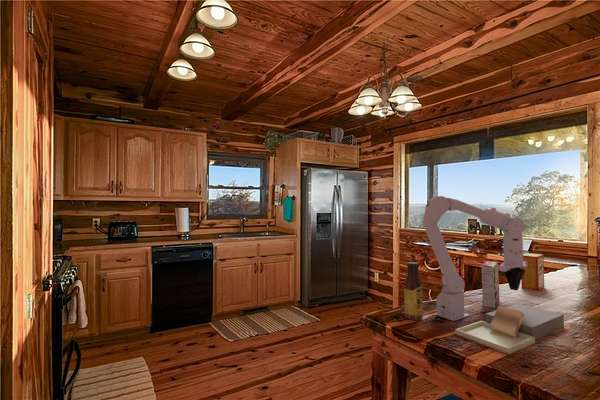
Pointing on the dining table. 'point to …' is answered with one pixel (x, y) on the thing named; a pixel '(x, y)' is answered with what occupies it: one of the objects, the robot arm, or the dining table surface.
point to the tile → (507, 321)
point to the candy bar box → (490, 284)
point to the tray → (494, 337)
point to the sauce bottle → (413, 293)
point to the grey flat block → (535, 320)
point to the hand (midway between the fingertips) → (514, 289)
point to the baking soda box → (533, 272)
